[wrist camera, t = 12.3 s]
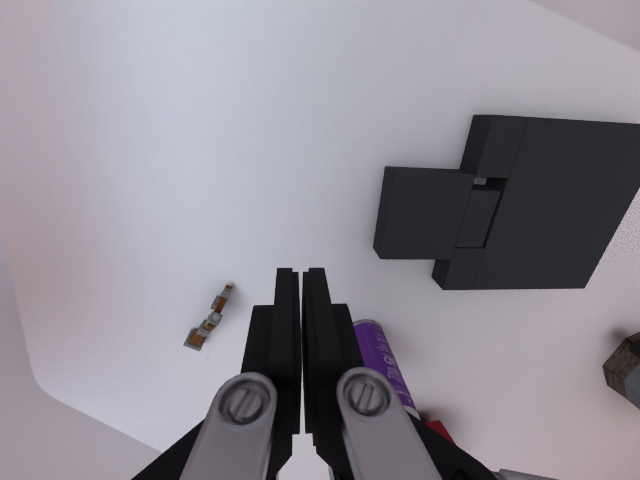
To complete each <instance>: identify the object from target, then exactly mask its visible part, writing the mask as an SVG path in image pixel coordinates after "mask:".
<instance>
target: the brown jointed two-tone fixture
mask: <svg viewBox="0 0 640 480" xmlns="http://www.w3.org/2000/svg"><path fill="white" fill-rule="evenodd" d="M231 289H232V286H229V285H226V286H225V288H224V290H223V292H222V293H221V295H220V296H218V295H217V297H216V299H215V300H214V302H213V304H212V306H211V308H212V309H214V311H213V312H212V313H211V314H210V315H209V316H208V318H207V320H206V319H205V320H204V321H203V323H202V324H201V325H200V327H199V329H198V330H195V329H191V331H190V333H189V335H188V337H187V339H186V341H185V343H184V346H187V347H189V348H192V349H195V350H197V351H200V350H201V348H202V346H203V343H204V341H205V339H206V337H207V335H208V334H209V333H210V332H211V330H212V329H214V328H215V327H216V326H217V325H219V322H220V320H221V318H222V315H221V314H220V313H221V311H222V309H223V307H224V305H225V302H226V301H227V300H228V298H229V295H230V292H231Z"/></svg>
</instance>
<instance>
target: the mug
mask: <svg viewBox="0 0 640 480" xmlns="http://www.w3.org/2000/svg"><path fill="white" fill-rule="evenodd" d="M603 369H604V373H605V378H606V382H607V385H608V386H609V387H611V388H612V389H614V390H615V391H616V392H618V393H619V394H621V395H622V396H624V397H625V398H626V399H628V400H629V401H630V402H631V403H632V404H634V405H635V406H636V407H637V408H638V409H640V332H639V333H637V334H635V335H633V336H631V337H629V338H627V339H625V340H624V342H623V343H622V344H621V345H620V346H619V348H618V349H617V350H616V351H615V352H614V353H613V355H612V356H611V357H610V358H609V359H608V360H607V362H606V363H605V364H604V365H603Z"/></svg>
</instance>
